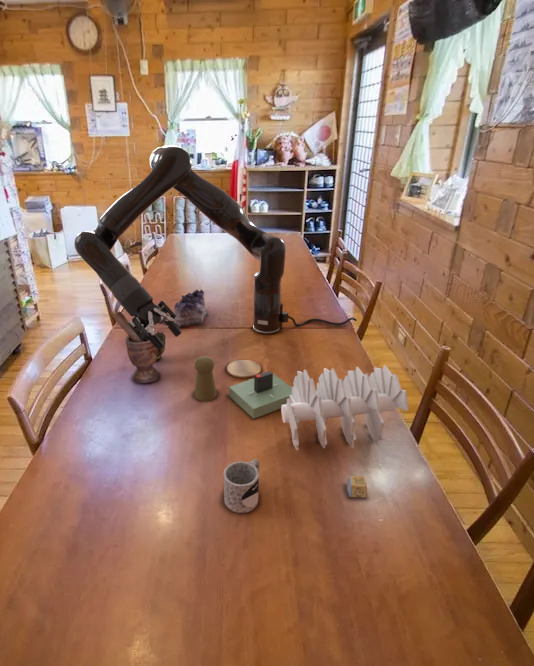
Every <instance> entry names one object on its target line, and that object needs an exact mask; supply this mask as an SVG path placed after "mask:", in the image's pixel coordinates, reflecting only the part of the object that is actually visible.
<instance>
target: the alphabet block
mask: <svg viewBox="0 0 534 666" xmlns="http://www.w3.org/2000/svg"><path fill="white" fill-rule="evenodd" d="M346 490H347V493H348V496H349V498H366V496H367V491H368V484H367V482H366V479H365V476H364V475H348V476H347V482H346Z"/></svg>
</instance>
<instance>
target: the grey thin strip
mask: <svg viewBox="0 0 534 666" xmlns="http://www.w3.org/2000/svg"><path fill="white" fill-rule="evenodd" d="M259 478H260V461H259V459H257V458H254V459H252V460H251V461H249V462H247V461H235V462H231V463H230V464H228V465H227V466H225V468H224V470H223V498H224V499H223V501H224V504H225V506H226V508H228V510H230V511H231V512H233V513H239V514H243V513H244V514H245V513H249V512H251V511H253V510H254V509H255V508H256V507H257V506H258V504H259V486H260V485H259V483H260V482H259Z"/></svg>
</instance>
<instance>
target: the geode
mask: <svg viewBox="0 0 534 666" xmlns="http://www.w3.org/2000/svg"><path fill="white" fill-rule="evenodd" d="M204 295H205V292H204V290H202V289H200V290H199V289H195V290H193V292H188V293H187V294H185V295H182V294H181V299H180V300H178V302H175V304H174V314H175V315H176V317H175V318H174V322H175V324H176V325H177V326H178V327H179V328H181V327H189V326H196V325H203V324H204V319H205V318H206V317H207V315H208V312H207V307H206V303H205V296H204Z"/></svg>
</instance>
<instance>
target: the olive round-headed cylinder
mask: <svg viewBox="0 0 534 666" xmlns="http://www.w3.org/2000/svg"><path fill="white" fill-rule="evenodd" d="M214 368H215V361H214V359H213V358H212V357H210V356H206V355H205V356H203V355H202V356H199V357H197V358H196V359H195V360H194V369H195V371H196V374H195V375H196V377H195V385H194V397H195V399H197V400H198V401H201V402H202V401H203V402H208V401H209V402H210V401H211V400H214V399H216V397H217V394H218V393H217V388H216V382H215V378H214V372H213V370H214Z"/></svg>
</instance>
